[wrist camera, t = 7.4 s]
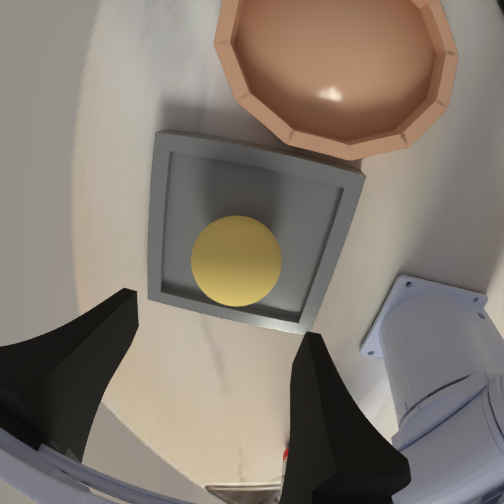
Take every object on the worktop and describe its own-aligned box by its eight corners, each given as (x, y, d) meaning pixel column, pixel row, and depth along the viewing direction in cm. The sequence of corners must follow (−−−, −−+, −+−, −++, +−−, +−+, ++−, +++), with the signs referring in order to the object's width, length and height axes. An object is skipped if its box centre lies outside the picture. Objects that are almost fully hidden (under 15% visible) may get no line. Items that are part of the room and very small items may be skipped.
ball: (291, 214, 18) (293, 254, 14) (271, 282, 21) (266, 333, 16) (209, 194, 18) (184, 229, 14) (198, 264, 21) (176, 311, 16)
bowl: (449, -1, 11) (465, -8, 9) (411, 174, 17) (425, 185, 15) (248, -59, 11) (243, -75, 9) (208, 123, 17) (198, 128, 15)
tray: (360, 170, 17) (366, 176, 16) (307, 323, 23) (307, 335, 22) (164, 129, 17) (155, 132, 16) (154, 288, 23) (147, 299, 22)
